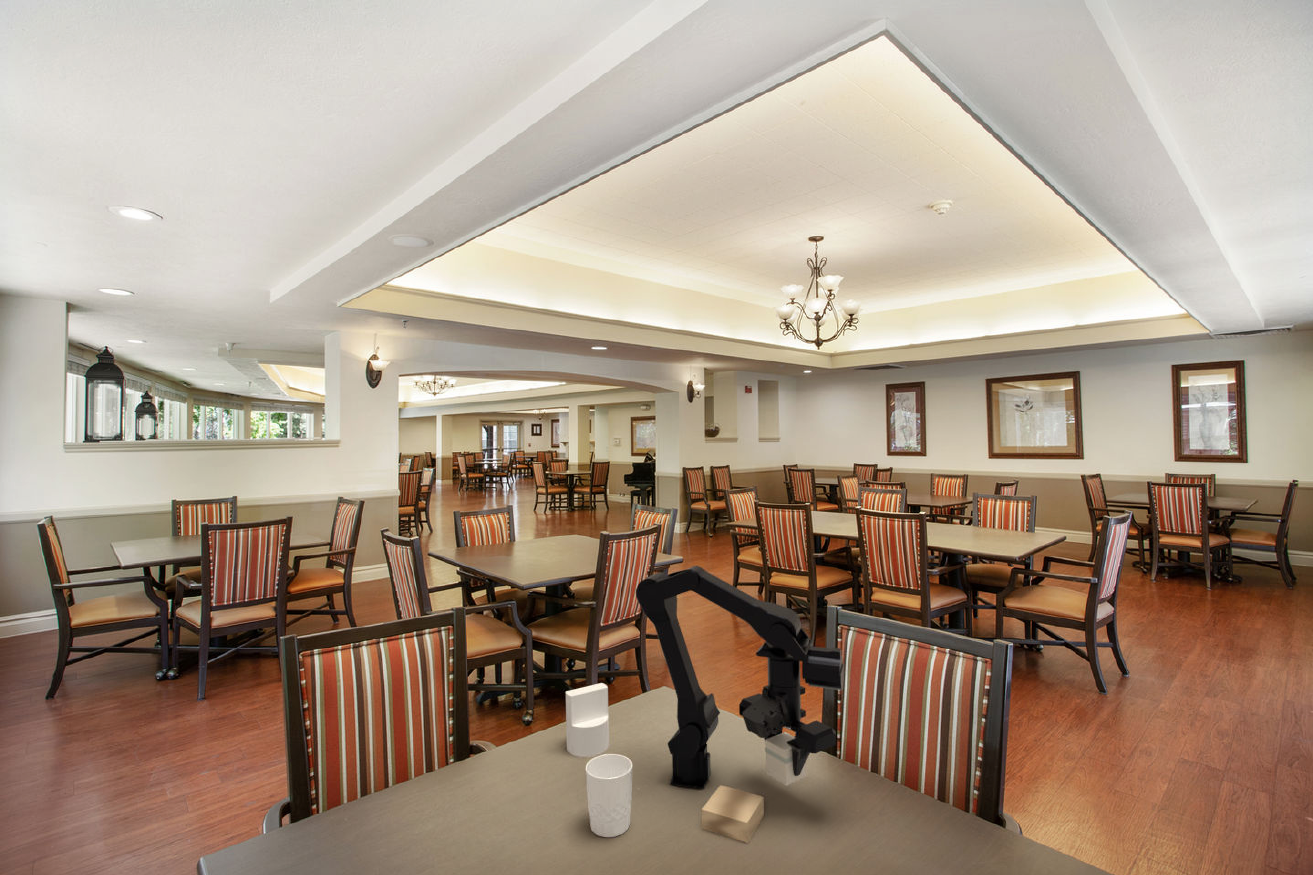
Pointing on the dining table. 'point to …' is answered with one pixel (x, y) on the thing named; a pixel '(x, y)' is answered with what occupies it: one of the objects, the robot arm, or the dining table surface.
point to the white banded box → (781, 759)
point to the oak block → (733, 813)
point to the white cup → (609, 794)
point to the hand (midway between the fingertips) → (785, 768)
